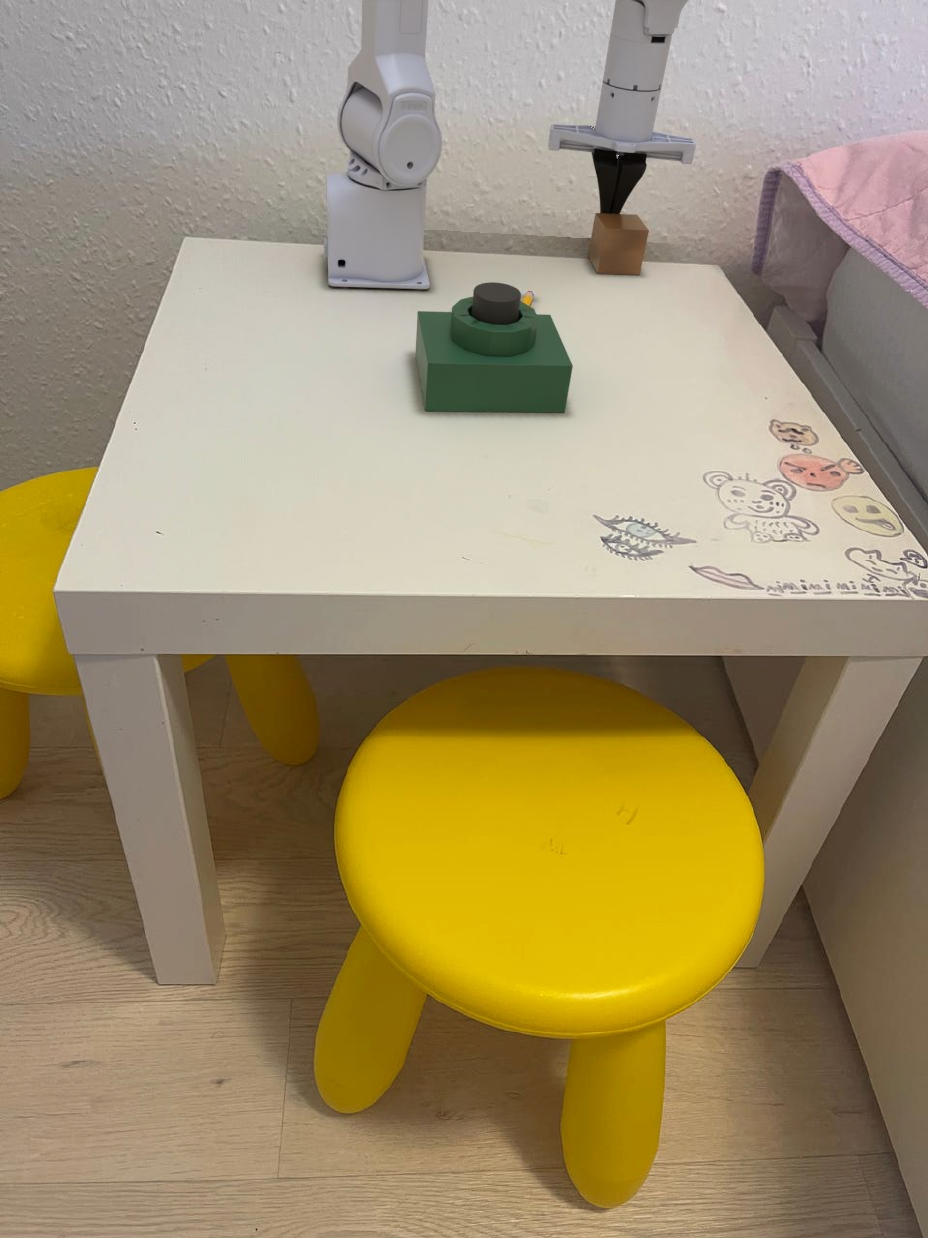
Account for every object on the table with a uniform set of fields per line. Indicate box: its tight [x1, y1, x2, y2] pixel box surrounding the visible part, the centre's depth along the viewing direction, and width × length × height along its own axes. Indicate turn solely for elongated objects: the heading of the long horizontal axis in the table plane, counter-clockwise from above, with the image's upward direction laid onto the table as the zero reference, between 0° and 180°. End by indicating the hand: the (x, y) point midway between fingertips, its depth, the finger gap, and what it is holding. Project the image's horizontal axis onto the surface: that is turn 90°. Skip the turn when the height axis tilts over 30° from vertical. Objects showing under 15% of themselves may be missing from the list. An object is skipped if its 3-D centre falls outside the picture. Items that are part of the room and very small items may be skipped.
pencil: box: [521, 290, 535, 307], centre depth 84 cm, size 1×8×1 cm, turn 167°
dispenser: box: [414, 296, 573, 414], centre depth 72 cm, size 11×9×6 cm
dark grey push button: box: [472, 281, 522, 325], centre depth 70 cm, size 4×4×2 cm
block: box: [587, 212, 650, 276], centre depth 94 cm, size 4×4×4 cm
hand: (606, 227), depth 98 cm, fingers closed
